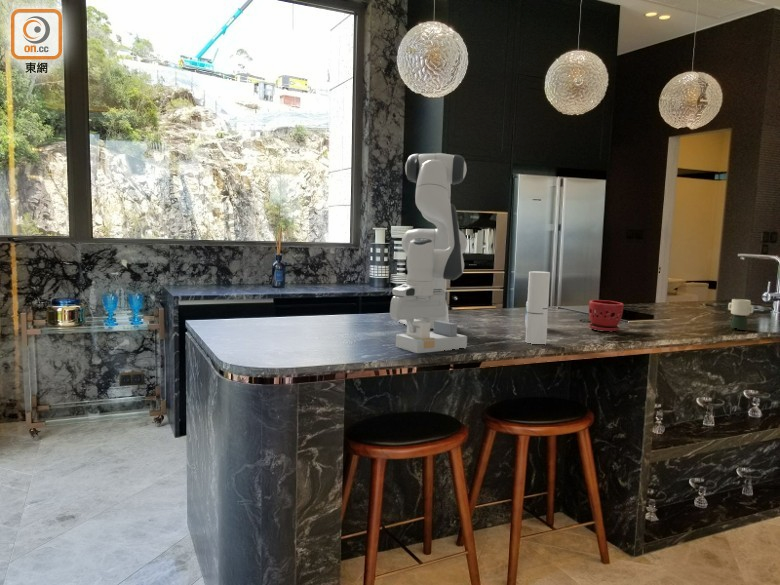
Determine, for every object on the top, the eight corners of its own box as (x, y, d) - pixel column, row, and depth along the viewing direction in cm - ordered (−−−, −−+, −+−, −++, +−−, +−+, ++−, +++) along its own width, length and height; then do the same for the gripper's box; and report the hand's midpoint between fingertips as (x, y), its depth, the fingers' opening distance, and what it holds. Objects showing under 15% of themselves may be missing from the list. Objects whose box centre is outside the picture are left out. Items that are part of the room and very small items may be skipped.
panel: (429, 347, 191) (430, 322, 190) (421, 348, 189) (422, 323, 188) (413, 343, 198) (414, 319, 197) (406, 343, 196) (406, 319, 195)
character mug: (756, 331, 253) (759, 301, 251) (745, 332, 250) (748, 301, 248) (731, 327, 262) (734, 298, 261) (721, 328, 259) (723, 298, 258)
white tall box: (550, 344, 209) (554, 272, 206) (535, 345, 205) (539, 272, 203) (536, 340, 215) (539, 271, 213) (520, 342, 212) (524, 271, 209)
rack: (395, 346, 196) (396, 322, 195) (443, 342, 207) (444, 319, 206) (417, 353, 186) (418, 328, 185) (466, 348, 197) (468, 324, 196)
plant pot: (588, 332, 238) (590, 302, 237) (586, 327, 251) (588, 299, 250) (623, 334, 235) (625, 304, 234) (619, 329, 248) (621, 300, 247)
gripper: (439, 287, 200) (437, 328, 201) (387, 289, 189) (386, 332, 190) (451, 289, 195) (449, 331, 196) (399, 291, 184) (397, 335, 185)
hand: (418, 332), depth 193 cm, fingers closed on panel, 3 cm apart
